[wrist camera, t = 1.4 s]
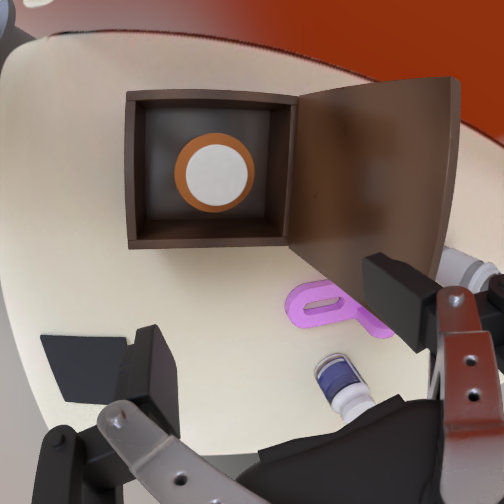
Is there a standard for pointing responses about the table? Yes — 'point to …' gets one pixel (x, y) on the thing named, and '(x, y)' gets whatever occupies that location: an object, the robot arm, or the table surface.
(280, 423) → the table surface
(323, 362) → the pill bottle
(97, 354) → the mat
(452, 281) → the cup
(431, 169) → the lid
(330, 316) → the bracket
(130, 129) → the chest
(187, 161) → the bottle
